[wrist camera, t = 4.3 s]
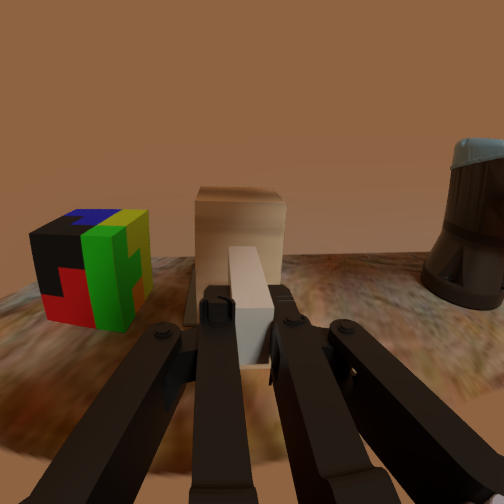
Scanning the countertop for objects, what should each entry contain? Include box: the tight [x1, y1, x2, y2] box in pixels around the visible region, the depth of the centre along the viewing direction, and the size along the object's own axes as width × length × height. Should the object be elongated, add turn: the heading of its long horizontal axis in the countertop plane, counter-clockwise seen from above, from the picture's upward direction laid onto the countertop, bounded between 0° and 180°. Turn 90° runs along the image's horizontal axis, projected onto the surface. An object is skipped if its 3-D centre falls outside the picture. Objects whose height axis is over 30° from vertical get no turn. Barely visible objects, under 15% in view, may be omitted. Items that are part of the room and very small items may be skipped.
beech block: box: [195, 187, 287, 369], centre depth 26 cm, size 6×6×14 cm
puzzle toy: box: [29, 209, 153, 333], centre depth 32 cm, size 10×10×10 cm
